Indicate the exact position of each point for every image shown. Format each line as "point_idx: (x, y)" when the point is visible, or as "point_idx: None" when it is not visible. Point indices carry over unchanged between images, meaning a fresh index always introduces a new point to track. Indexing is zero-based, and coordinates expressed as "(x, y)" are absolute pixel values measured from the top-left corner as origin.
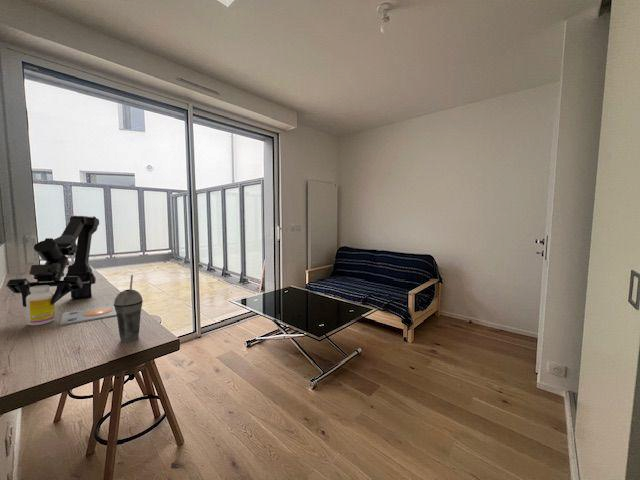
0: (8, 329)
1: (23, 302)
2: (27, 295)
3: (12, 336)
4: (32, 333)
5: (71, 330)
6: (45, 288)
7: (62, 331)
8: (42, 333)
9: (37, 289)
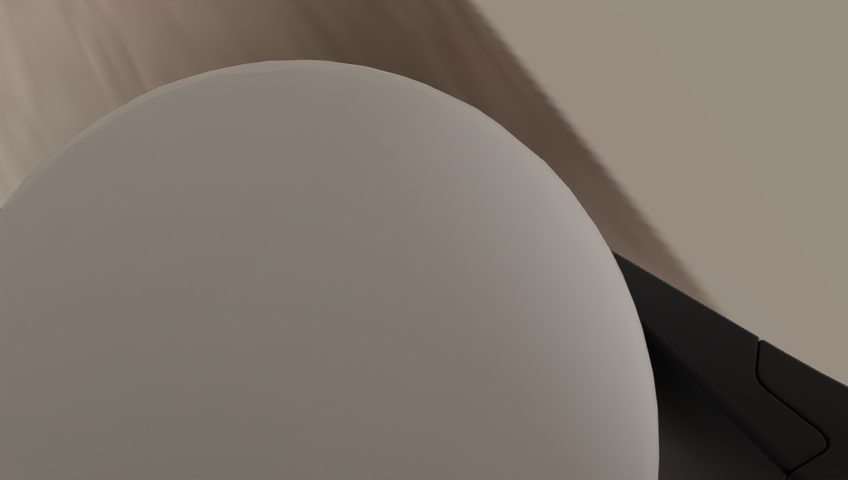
0: (609, 204)
1: (620, 267)
2: (690, 418)
3: (434, 17)
4: (313, 53)
5: (29, 59)
6: (20, 273)
7: (91, 50)
8: (230, 37)
9: (208, 95)
